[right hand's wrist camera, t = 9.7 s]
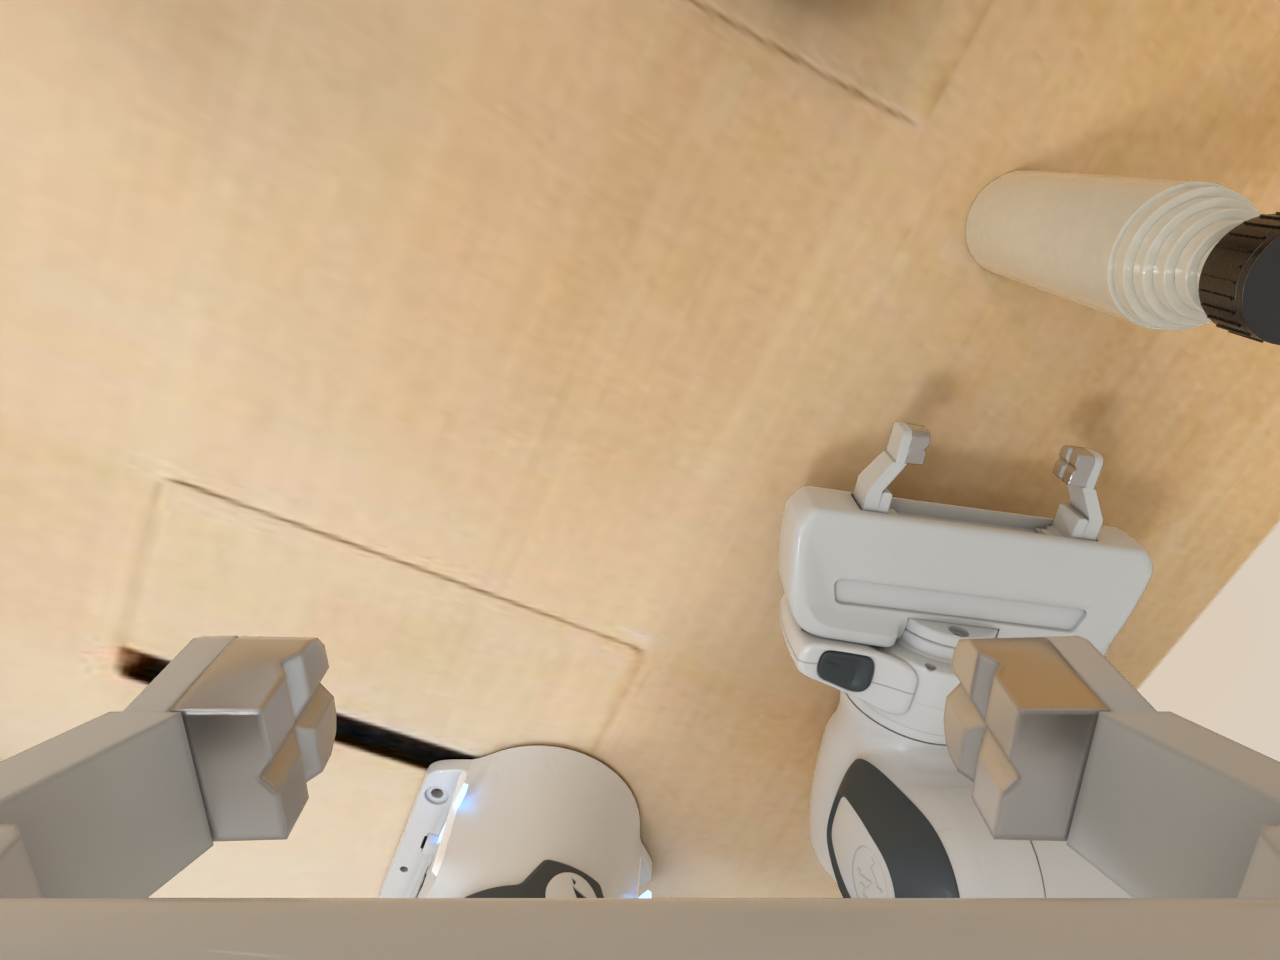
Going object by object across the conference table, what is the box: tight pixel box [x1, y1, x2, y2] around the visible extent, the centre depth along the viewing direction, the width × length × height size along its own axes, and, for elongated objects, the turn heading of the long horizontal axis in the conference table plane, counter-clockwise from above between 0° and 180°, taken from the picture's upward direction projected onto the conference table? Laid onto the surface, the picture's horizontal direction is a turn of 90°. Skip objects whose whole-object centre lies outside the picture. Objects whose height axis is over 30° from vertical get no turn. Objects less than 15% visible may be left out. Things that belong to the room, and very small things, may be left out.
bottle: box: [965, 170, 1261, 330], centre depth 35 cm, size 6×6×20 cm
